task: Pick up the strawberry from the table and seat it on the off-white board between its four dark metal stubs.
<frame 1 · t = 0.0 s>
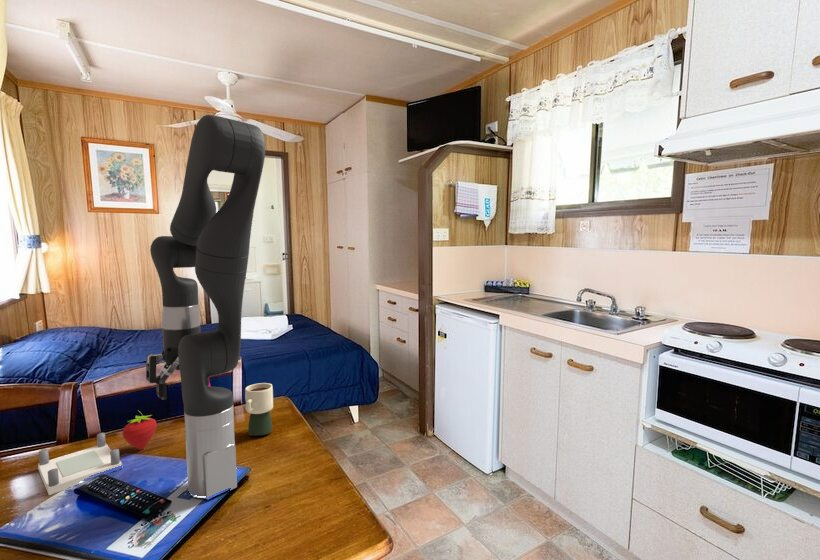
hand: (184, 393, 91), 17 cm above the table, tool pointing down, fingers open, 8 cm apart
character mug: (260, 433, 108), on the table
pepper mill: (203, 415, 121), on the table
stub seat: (80, 469, 91), on the table
strawberry: (141, 450, 100), on the table
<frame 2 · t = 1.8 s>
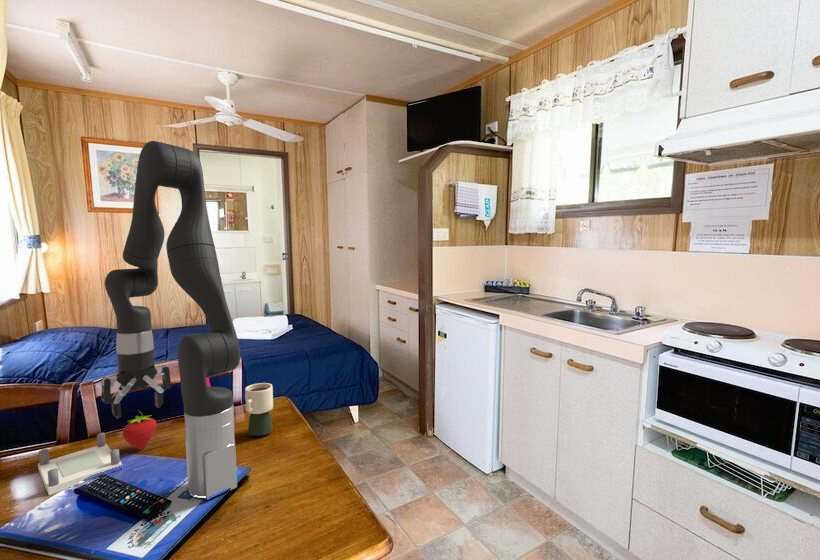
hand: (139, 411, 99), 10 cm above the table, tool pointing down, fingers open, 8 cm apart
nothing on the table moved.
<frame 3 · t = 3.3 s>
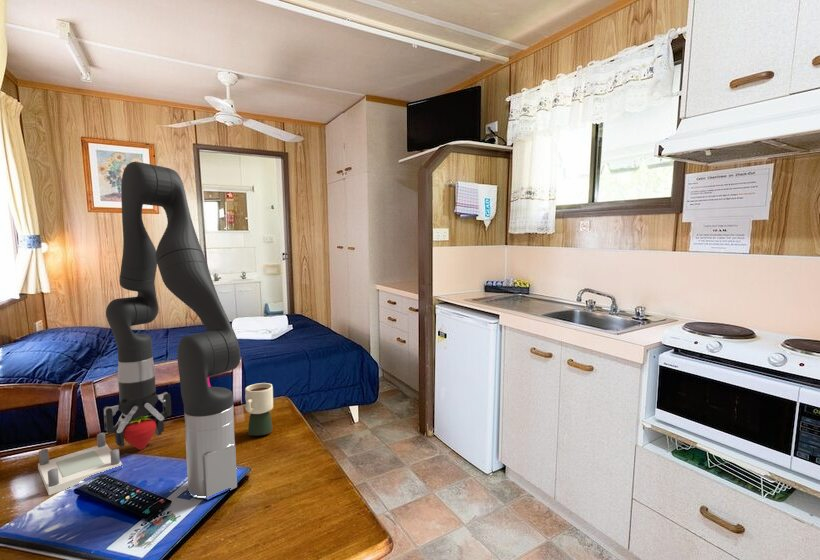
hand: (140, 439, 100), 2 cm above the table, tool pointing down, fingers closed on strawberry, 7 cm apart
strawberry: (141, 450, 100), on the table, touching gripper
everything else where it was.
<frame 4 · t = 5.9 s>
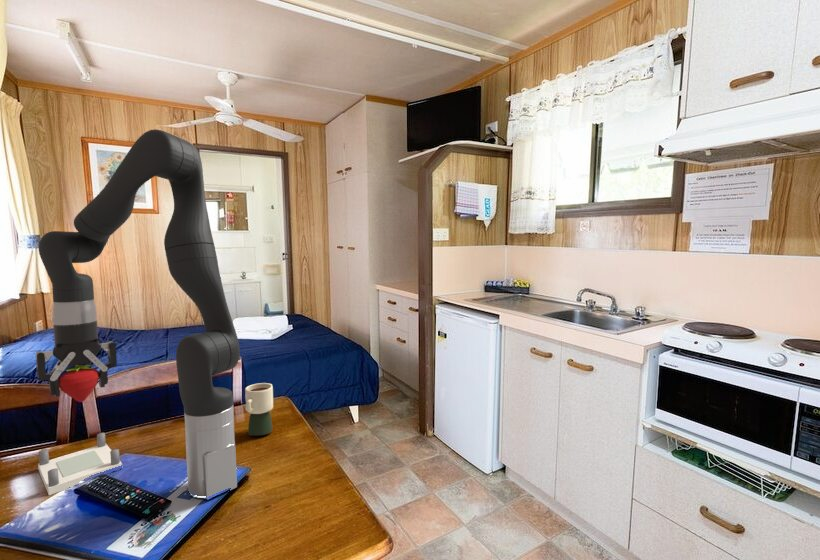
hand: (80, 391, 90), 18 cm above the table, tool pointing down, fingers closed on strawberry, 7 cm apart
strawberry: (81, 402, 90), point 15 cm above the table, touching gripper
everything else where it was.
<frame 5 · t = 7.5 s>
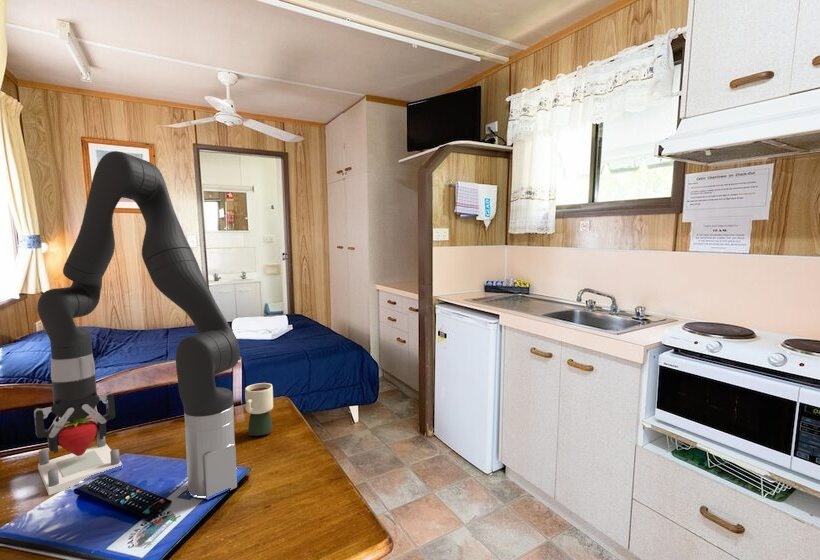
hand: (79, 444, 90), 6 cm above the table, tool pointing down, fingers closed on strawberry, 7 cm apart
strawberry: (79, 456, 91), point 3 cm above the table, touching gripper
everything else where it was.
when the fingers open (5 cm above the table, at t = 8.6 s): strawberry drops 1 cm, resting on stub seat.
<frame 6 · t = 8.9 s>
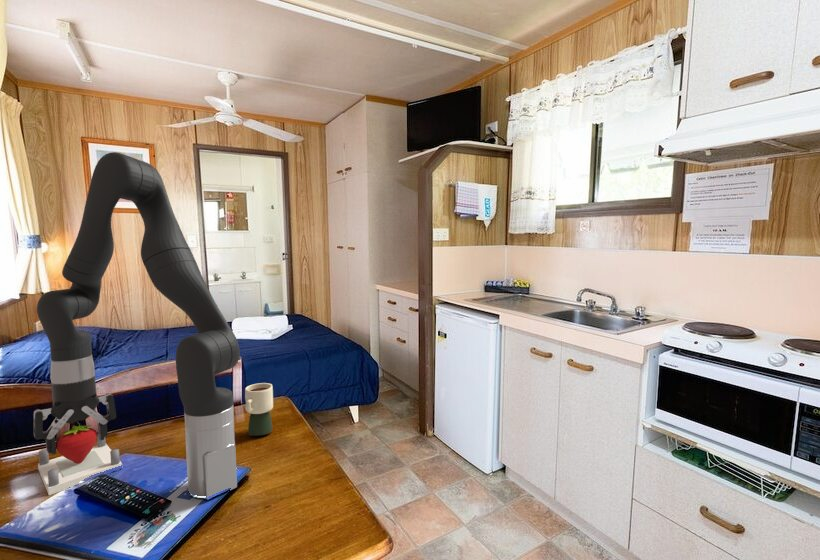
hand: (78, 446, 90), 6 cm above the table, tool pointing down, fingers open, 8 cm apart
strawberry: (79, 463, 90), point 1 cm above the table, touching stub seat
everything else where it was.
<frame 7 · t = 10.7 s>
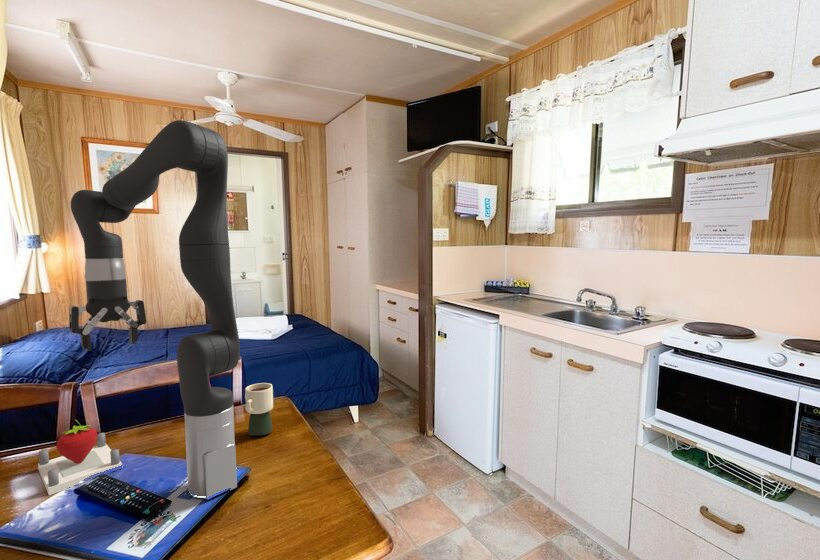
hand: (111, 346, 93), 28 cm above the table, tool pointing down, fingers open, 8 cm apart
nothing on the table moved.
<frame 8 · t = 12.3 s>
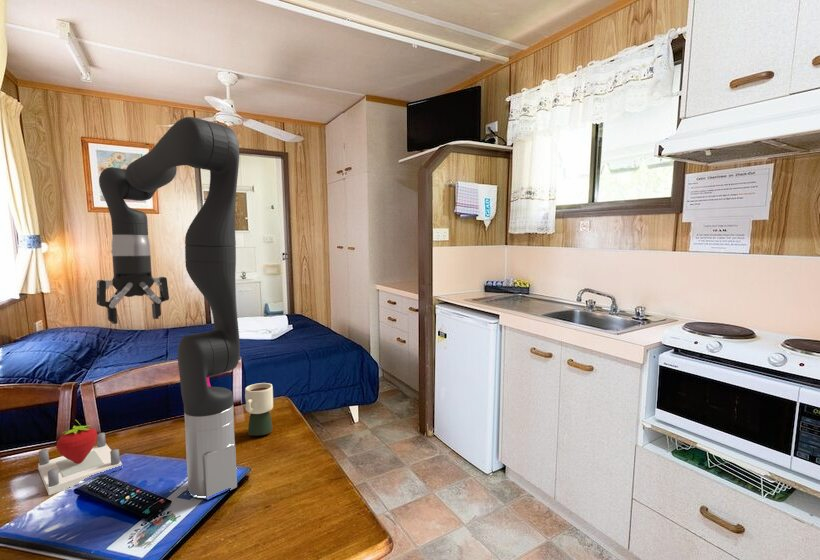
hand: (135, 320, 96), 33 cm above the table, tool pointing down, fingers open, 8 cm apart
nothing on the table moved.
at the end: strawberry 0.1 cm off-centre on the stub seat, point 1.4 cm above the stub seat's base; strawberry tilted 0°; the gripper is holding nothing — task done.
